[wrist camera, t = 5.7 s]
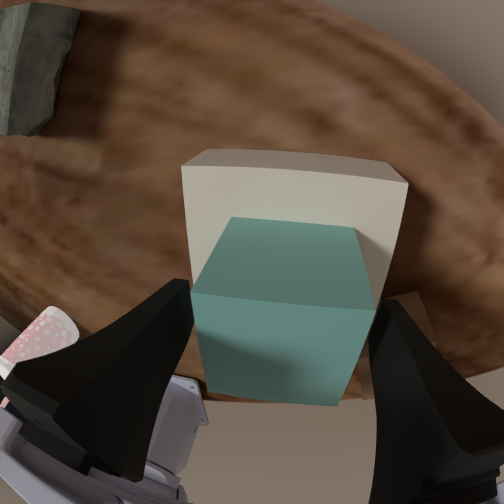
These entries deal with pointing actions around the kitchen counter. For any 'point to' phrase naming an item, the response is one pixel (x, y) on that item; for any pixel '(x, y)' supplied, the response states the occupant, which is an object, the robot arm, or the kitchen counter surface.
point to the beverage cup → (39, 340)
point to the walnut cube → (409, 303)
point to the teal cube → (282, 311)
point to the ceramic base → (294, 199)
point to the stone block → (32, 63)
